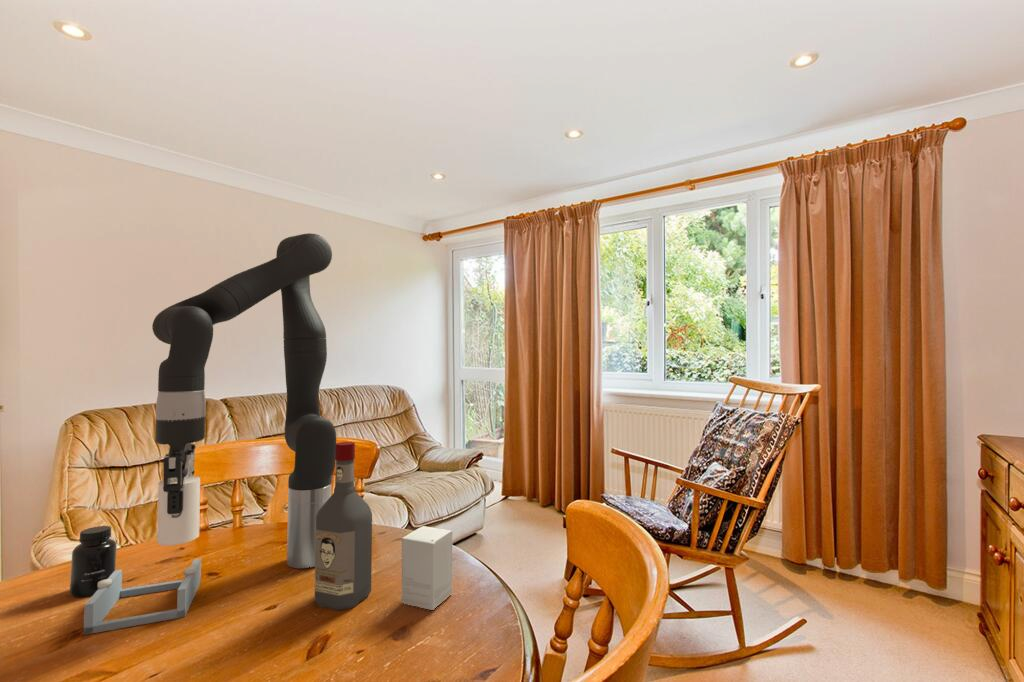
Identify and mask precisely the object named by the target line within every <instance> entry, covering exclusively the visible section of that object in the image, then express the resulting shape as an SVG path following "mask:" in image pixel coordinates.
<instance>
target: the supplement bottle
mask: <svg viewBox="0 0 1024 682" xmlns="http://www.w3.org/2000/svg"><path fill="white" fill-rule="evenodd" d="M78 542H79V544H78V545H77V546H75V547H74V549H73V550H72V553H71V568H70V585H69V586H70V587H69V593H70V595H71V596H73V597H75V598H85V597H86V598H87V597H92V596H93V595H94V594H95V592H96V591H97V590H98V589H99V588H98V582H99V581H102V580H105V579H108V578H109V576H110V575H111V574H112V573H113V572H114V571H116V567H117V561H116V560H117V549H118V548H117V546H118V545H117V542H116V541H115V540H114V539H112V527H111V526H109V525H98V526H92V527H89V528H84V529H83V530H81V531H80V533H79V539H78Z"/></svg>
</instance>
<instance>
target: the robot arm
mask: <svg viewBox="0 0 1024 682" xmlns="http://www.w3.org/2000/svg"><path fill="white" fill-rule="evenodd" d="M332 259H333V251H332V247H331V245H330V243H329V241H327V239H326V238H324V237H323V236H321V235H320V234H316V233H302V234H297V235H292V236H289V237H286V238H284V239H282V240H281V241H280V242H279V244H278V246H277V248H276V256H275V257H274V258H272V259H270V260H268V261H266V262H263V263H262V264H261V263H260V264H259V265H256V266H253V267H251V268H249V269H246V270H243V271H241V272H239V273H235V274H234V275H231V276H230V277H228V278H226V279H224V280H223V281H221V282H219V283H217V284H214V285H213V286H211V287H210V288H209V289H207V290H205V291H202V292H201V293H199V294H196V295H194V296H190V297H188V298H186V299H184V300H181V301H179V302H176V303H175V304H172V305H170V306H168V307H166V308H164V309H163V310H162V311H160V312H159V313H157V315H156V316H154V317H155V318H154V319H153V322H152V332H153V334H154V336H155V337H156V339H158V341H161V342H162V343H165V344H166V345H170V346H169V351H168V356H167V358H166V359H164V360H163V361H161V363H160V364H159V367H158V375H157V376H158V377H157V381H158V383H157V397H156V404H155V428H154V431H155V433H154V434H155V435H154V436H155V437H154V441H155V443H157V444H158V445H163V446H164V445H167V446H169V449H168V450H169V451H168V453H166V454H165V455H164V457H163V460H162V463H163V480H164V487H163V490H164V492H166V493H168V495H167V513H168V514H177V513H181V512H182V511H183V491H184V488H185V486H184V483H185V479H186V478H188V476H195V456H196V450H195V449H196V445H195V443H197V442H201V441H203V440H204V439H206V410H207V407H206V405H207V403H206V395H205V384H206V381H205V379H206V378H205V377H206V376H205V375H206V374H205V369H206V364H207V361H208V358H209V355H210V352H211V351H210V350H211V347H212V342H213V339H214V326H215V325H216V324H220V323H224V322H228V321H230V320H233V319H234V318H236V317H238V316H239V315H241V314H242V313H244V312H246V311H247V310H249V309H250V308H252V307H253V306H255V305H257V304H258V303H260V302H261V301H263V300H265V299H266V298H269V297H270V296H271V295H273V294H275V293H277V292H279V291H280V293H281V307H282V309H281V310H282V322H283V323H282V325H283V332H282V333H283V358H284V369H285V370H284V371H285V373H284V374H285V385H286V410H285V421H284V422H285V423H284V439H285V443H286V445H287V447H288V448H289V449H290V450H291V451H293V452H294V454H295V455H294V468H293V471H292V472H291V473H289V476H288V484H287V487H288V489H287V491H288V493H287V495H288V496H287V498H288V499H287V539H286V542H287V545H286V550H287V551H286V565H287V566H288V567H290V568H293V569H308V568H309V567H310V568H315V548H316V516H317V513H318V511H319V509H320V508H321V507H322V506H323V505H324V504H325V503H326V501H327V500H328V499H329V498H330V497H331V496H332V477H333V474H334V472H335V470H336V460H335V450H336V443H337V432H336V428H335V425H334V424H333V422H331V421H330V419H328V418H326V417H323V416H321V413H320V410H321V409H320V403H319V402H320V399H319V393H320V392H319V391H320V388H321V387H320V385H321V382H322V379H323V376H324V372H325V369H326V365H327V358H328V357H327V356H328V349H327V348H328V347H327V333H326V331H327V330H326V328H325V325H324V323H323V320H322V318H321V316H320V314H319V313H318V310H317V308H316V307H315V305H314V301H313V300H312V296H311V284H310V278H311V277H310V276H311V275H315V274H318V273H321V272H323V271H325V270H326V269H327V268H328V267H329V265H330V264H331V261H332ZM174 479H177V484H171V483H172V480H174Z"/></svg>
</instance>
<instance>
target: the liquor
mask: <svg viewBox="0 0 1024 682" xmlns="http://www.w3.org/2000/svg"><path fill="white" fill-rule="evenodd" d="M355 457H356V443H355V441H341V442H336V450H335V484H334V485H335V486H334V488H333V493H332V494H331V497H330V498H329V499H328V500H327V501H326V503H325V504H324V505H323V506H322V507H321V508H320V509H319V511H318V513H317V516H316V548H315V567H314V598H315V599H314V601H315V603H316V605H317V607H322V608H324V609H326V608H327V609H331V610H336V611H343V610H348V609H353V608H355V607H356V606H357V605H358V604H360V603H361V602H362V601H363V600H365V599H366V598H367V597H369V596H370V594H371V591H372V565H373V564H372V561H373V560H372V559H373V558H372V557H373V556H372V553H373V551H372V550H373V547H372V546H373V544H372V543H373V512H372V510H371V508H370V506H369V504H368V503H367V502H366V500H365V499H364V498H362V497H361V496H360V495H359V493H358V492H356V487H355V459H356V458H355ZM368 595H369V596H368ZM365 597H366V598H365ZM364 598H365V599H364ZM360 601H361V602H360ZM359 602H360V603H359ZM355 605H356V606H355Z"/></svg>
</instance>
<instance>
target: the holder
mask: <svg viewBox="0 0 1024 682" xmlns="http://www.w3.org/2000/svg"><path fill="white" fill-rule="evenodd" d="M201 568H202V558H195V559H193V561H192V562H191V565H190V566H189V567H186V568H184V570H183V575H184V577H183V579H180V580H179V579H178V580H173V581H166V582H159V583H153V584H147V585H140V586H139V585H138V586H133V587H128V588H123V586H122V584H123V569H117V570H116V569H115V571H114V572H113V573H112V574H111V575H110V576H109V578H108V579H105V580H102V581H99V582H98V588H99V589H98V590H97V591H96V592H95V594H94V595H93V596H90V598H89V599H88V600H87V601H86V603H85V604H84V607H83V608H84V609H83V610H84V613H83V636H85V635H90V634H96V633H102V632H106V631H113V630H119V629H124V628H131V627H136V626H141V625H146V624H152V623H157V622H158V623H159V622H162V621H168V620H174V619H180V618H185V617H186V615H187V613H188V611H189V609H190V607H191V604H192V602H193V600H194V597H195V596H196V593H197V591H198V589H199V587H200V584H201V573H202V572H201V571H202V569H201ZM170 590H177V597H176V598H177V600H176V601H177V602H176V605H177V607H176V608H175V609H169V610H162V611H157V612H151V613H146V614H140V615H135V616H129V617H123V618H117V619H111V620H104V619H105V617H106V616H107V615H108V614H109V612H110V611H111V610H112V608H113V607H114V606H115V605H116V603H117V602H118V601H119V599H121V598H127V597H132V596H133V597H135V596H139V595H144V594H146V595H147V594H151V593H158V592H163V591H170ZM103 620H104V621H103Z"/></svg>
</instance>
